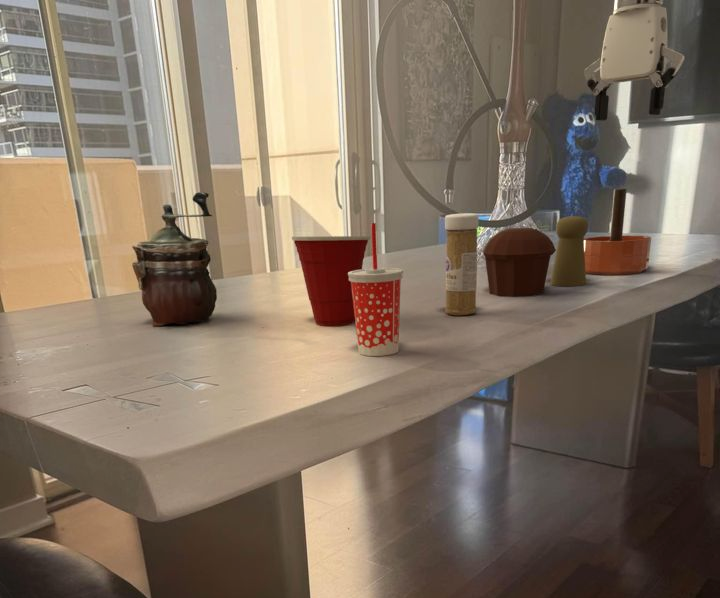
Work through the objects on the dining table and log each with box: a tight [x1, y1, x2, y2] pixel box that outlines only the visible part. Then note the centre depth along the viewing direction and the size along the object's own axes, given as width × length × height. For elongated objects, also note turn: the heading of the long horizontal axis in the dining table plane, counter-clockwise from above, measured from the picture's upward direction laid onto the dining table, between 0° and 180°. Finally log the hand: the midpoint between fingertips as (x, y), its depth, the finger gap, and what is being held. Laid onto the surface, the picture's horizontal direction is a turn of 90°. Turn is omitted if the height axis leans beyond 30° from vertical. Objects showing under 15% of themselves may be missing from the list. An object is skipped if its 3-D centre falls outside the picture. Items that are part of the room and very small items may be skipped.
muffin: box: [482, 227, 557, 297], centre depth 113 cm, size 12×11×10 cm
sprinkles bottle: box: [444, 212, 479, 317], centre depth 97 cm, size 5×5×14 cm
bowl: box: [584, 235, 652, 276], centre depth 132 cm, size 12×12×6 cm
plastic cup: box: [291, 235, 371, 327], centre depth 96 cm, size 11×11×12 cm
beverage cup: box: [348, 222, 404, 357], centre depth 77 cm, size 6×6×14 cm
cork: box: [549, 215, 589, 287], centre depth 119 cm, size 6×6×11 cm
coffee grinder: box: [131, 191, 218, 327], centre depth 101 cm, size 13×15×18 cm
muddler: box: [609, 188, 628, 241], centre depth 130 cm, size 4×4×14 cm
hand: (627, 117), depth 122 cm, fingers open, 9 cm apart
